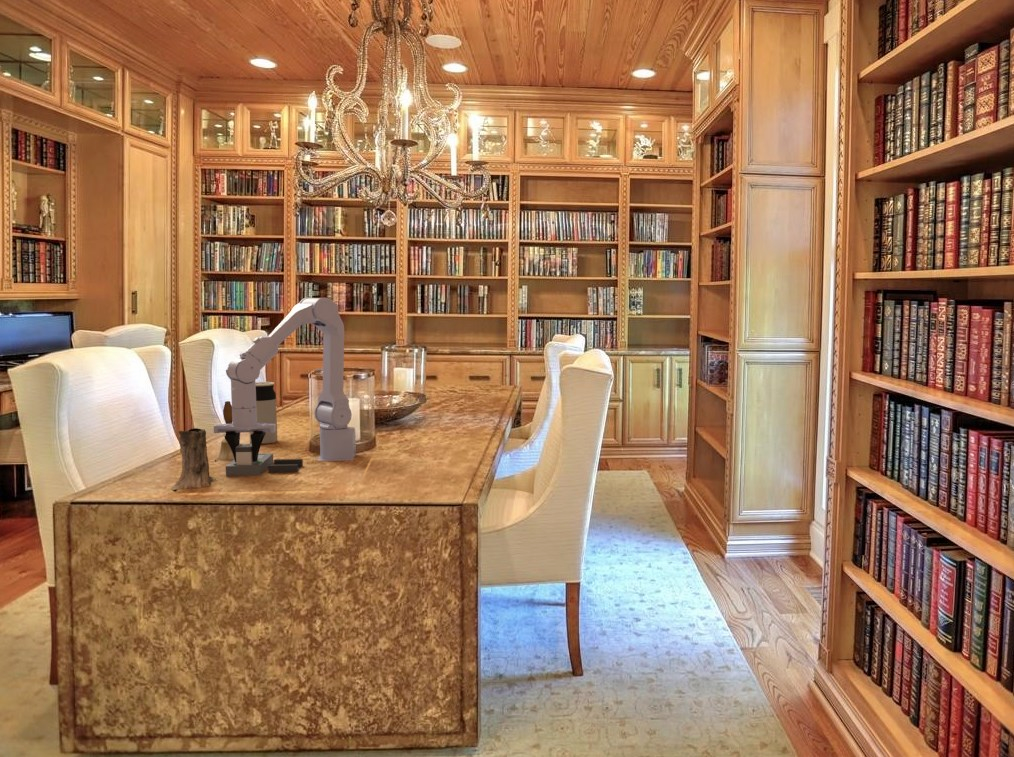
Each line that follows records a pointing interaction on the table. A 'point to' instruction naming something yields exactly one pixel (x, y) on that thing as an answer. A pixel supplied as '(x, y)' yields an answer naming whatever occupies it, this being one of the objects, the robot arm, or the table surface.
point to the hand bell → (225, 448)
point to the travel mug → (266, 408)
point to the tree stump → (193, 460)
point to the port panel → (250, 466)
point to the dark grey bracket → (285, 466)
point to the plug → (244, 454)
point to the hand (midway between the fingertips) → (246, 461)
